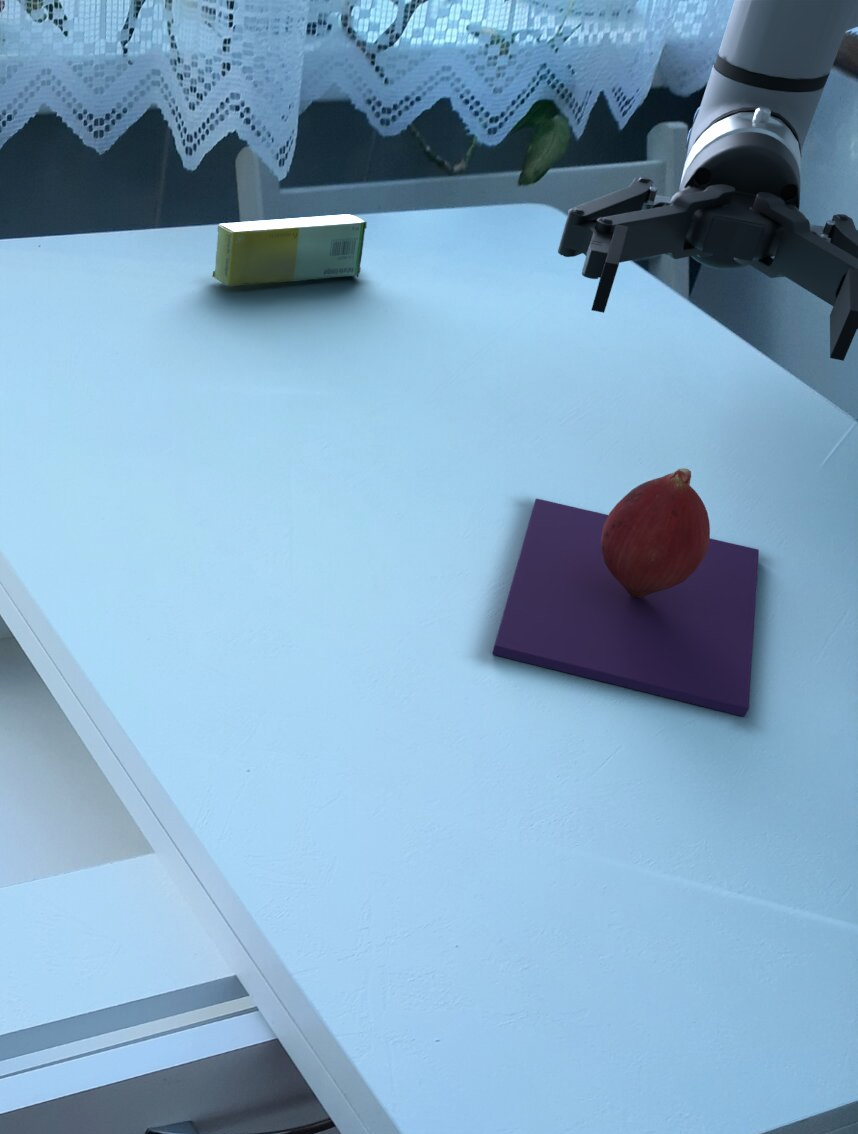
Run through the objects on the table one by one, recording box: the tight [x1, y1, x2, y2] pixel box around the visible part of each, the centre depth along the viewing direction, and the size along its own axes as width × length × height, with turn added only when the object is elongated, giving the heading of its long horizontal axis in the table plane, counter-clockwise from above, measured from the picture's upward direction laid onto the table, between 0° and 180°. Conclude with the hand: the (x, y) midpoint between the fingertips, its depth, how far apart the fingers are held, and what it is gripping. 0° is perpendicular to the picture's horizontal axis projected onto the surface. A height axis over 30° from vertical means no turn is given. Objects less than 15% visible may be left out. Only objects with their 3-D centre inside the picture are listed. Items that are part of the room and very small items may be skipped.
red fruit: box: [601, 467, 711, 598], centre depth 87 cm, size 6×6×8 cm
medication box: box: [211, 213, 368, 287], centre depth 117 cm, size 12×3×4 cm, turn 114°
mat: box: [492, 498, 760, 717], centre depth 90 cm, size 14×18×1 cm
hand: (724, 311), depth 86 cm, fingers open, 13 cm apart
